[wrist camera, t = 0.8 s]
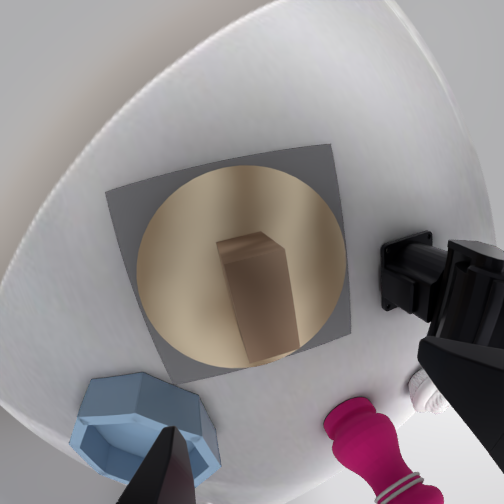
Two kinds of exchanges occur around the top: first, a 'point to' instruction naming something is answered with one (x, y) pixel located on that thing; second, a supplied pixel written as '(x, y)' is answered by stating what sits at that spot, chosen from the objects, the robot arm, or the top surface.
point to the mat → (161, 187)
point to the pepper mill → (376, 454)
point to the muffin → (426, 394)
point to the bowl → (140, 425)
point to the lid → (241, 266)
